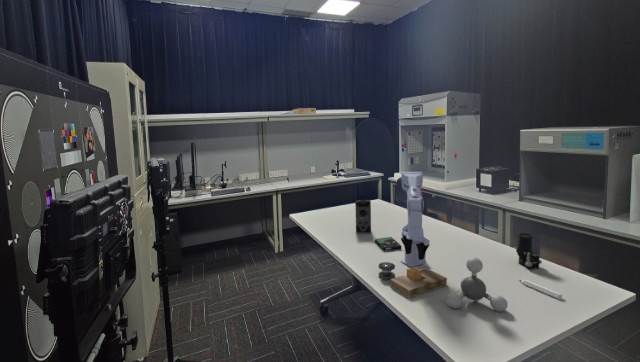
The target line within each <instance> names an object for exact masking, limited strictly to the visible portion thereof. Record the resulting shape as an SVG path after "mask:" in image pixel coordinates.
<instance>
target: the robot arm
mask: <svg viewBox="0 0 640 362" xmlns="http://www.w3.org/2000/svg"><path fill="white" fill-rule="evenodd" d="M423 183H424V174H423V172H422V171H402V172H401V188H402V190H403V191H404V192H406V193H405V194H406V197H407V200H406V209H407V224H405V225H404V226H403V227H402V229H401V238H400V241H401V243H402V244H403V247H404V259H401V260H400V262H401V263H403V264H405V265H407V266H409V267H410V268H412V267H417V266H420V265H424V264H427V263H428V261H426V259H427V258H426V253H427V250H428V248H429V247H430V239H428V238H426V237H425V236H424V235H425V234H424V228H423V212H424V207H425V205H424V204H425V202H424V198H423V197H422V192H421V190H422V188H423Z"/></svg>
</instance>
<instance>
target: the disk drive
mask: <svg viewBox="0 0 640 362" xmlns="http://www.w3.org/2000/svg"><path fill="white" fill-rule="evenodd" d="M374 243H375V245H377V247H379V248H380V249H381V250H382V252H389V251H390V250H391V251H398V250H399V251H401V250H402V245H401V243H399V242H398V241H396V239H394V238H393V237H391V236H388V237H387V236H386V237H379V238H375V239H374Z"/></svg>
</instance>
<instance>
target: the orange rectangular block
mask: <svg viewBox="0 0 640 362" xmlns="http://www.w3.org/2000/svg"><path fill="white" fill-rule="evenodd" d="M421 270H422V269H419V268H417V267H416V266H414V267H409V268H406V277H408V278H410V279H411V280H413V281H415V282H417V281H420V280H421Z"/></svg>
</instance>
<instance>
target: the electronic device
mask: <svg viewBox="0 0 640 362" xmlns="http://www.w3.org/2000/svg"><path fill="white" fill-rule="evenodd" d="M371 202H372V201H371V200H370V199H356V200H355V232H356V233H357V234H371V233H372V208H371V207H372V203H371Z"/></svg>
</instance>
